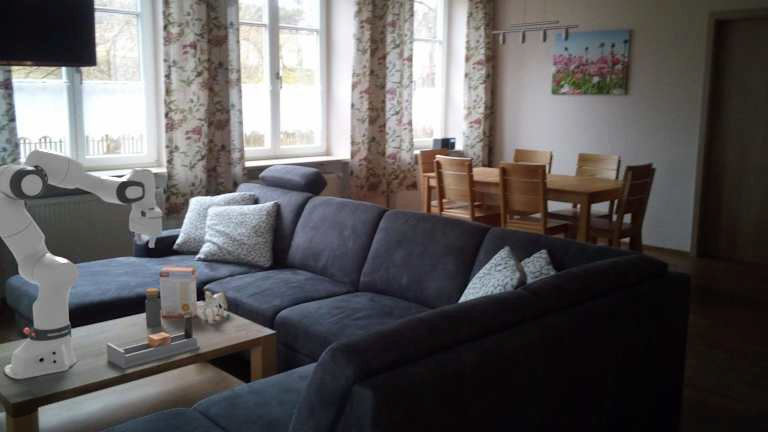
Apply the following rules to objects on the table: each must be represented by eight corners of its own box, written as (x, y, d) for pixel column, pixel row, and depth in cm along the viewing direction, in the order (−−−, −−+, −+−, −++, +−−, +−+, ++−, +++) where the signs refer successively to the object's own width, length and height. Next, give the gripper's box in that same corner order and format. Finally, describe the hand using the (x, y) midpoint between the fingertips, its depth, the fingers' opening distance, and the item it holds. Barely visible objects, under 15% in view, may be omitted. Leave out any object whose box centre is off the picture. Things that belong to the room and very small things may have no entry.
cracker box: (197, 314, 305) (196, 267, 301) (192, 318, 299) (190, 270, 295) (166, 312, 306) (164, 266, 303) (160, 317, 300) (158, 269, 297)
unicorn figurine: (198, 325, 289) (197, 294, 287) (212, 311, 308) (211, 282, 306) (215, 326, 289) (214, 294, 287) (228, 312, 308) (227, 282, 306)
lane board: (122, 368, 242) (122, 352, 242) (107, 359, 251) (106, 343, 250) (199, 347, 264) (199, 332, 263) (183, 339, 272) (182, 325, 271)
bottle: (164, 323, 292) (162, 288, 289) (155, 327, 286) (154, 292, 284) (151, 322, 293) (150, 287, 291) (143, 326, 288) (141, 290, 285)
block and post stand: (155, 352, 254) (154, 327, 253) (148, 348, 258) (147, 323, 257) (196, 341, 266) (195, 317, 265) (188, 338, 270) (187, 314, 268)
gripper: (124, 207, 274) (125, 242, 276) (149, 214, 260) (150, 250, 262) (139, 206, 278) (140, 240, 280) (164, 212, 264) (166, 248, 266)
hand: (145, 245), depth 271 cm, fingers open, 8 cm apart
